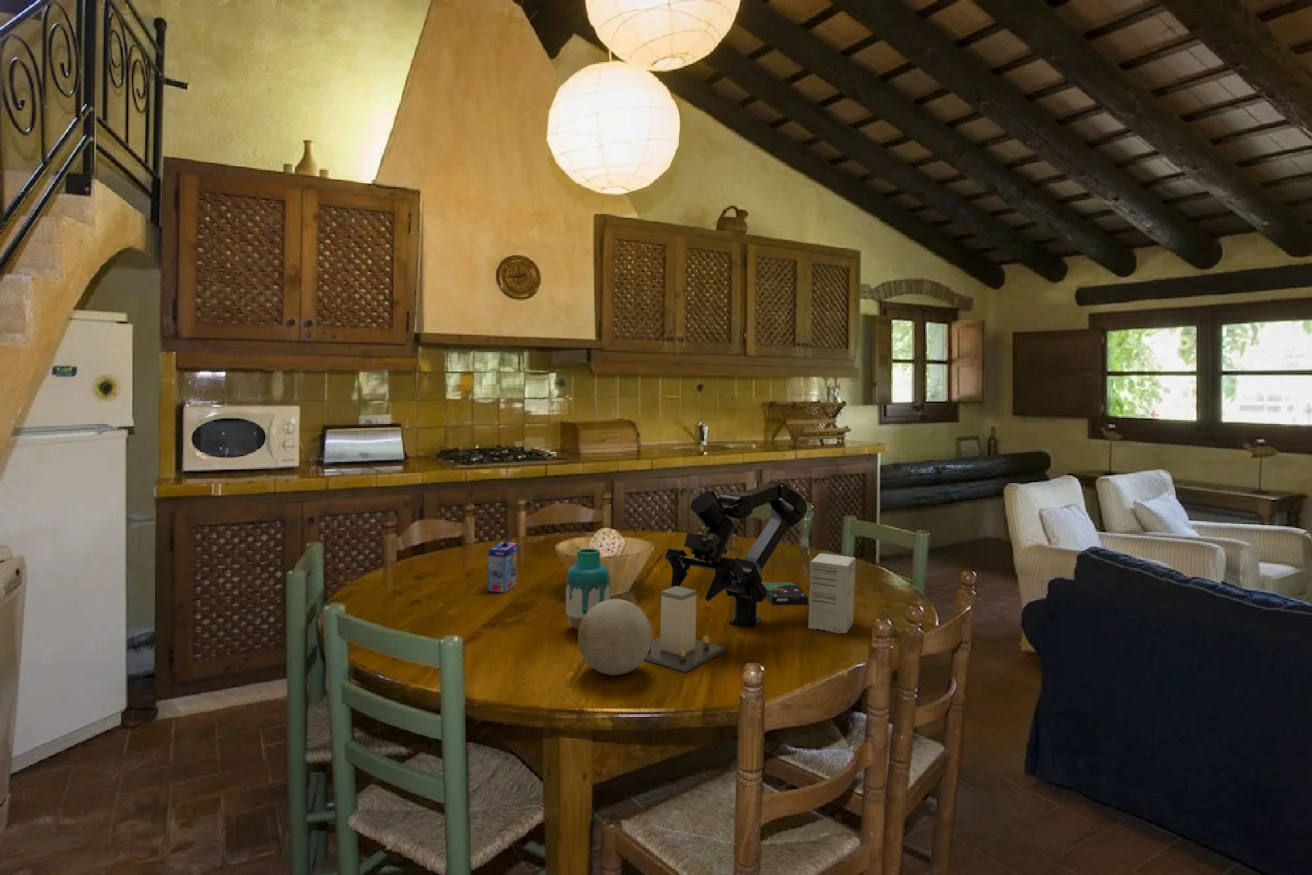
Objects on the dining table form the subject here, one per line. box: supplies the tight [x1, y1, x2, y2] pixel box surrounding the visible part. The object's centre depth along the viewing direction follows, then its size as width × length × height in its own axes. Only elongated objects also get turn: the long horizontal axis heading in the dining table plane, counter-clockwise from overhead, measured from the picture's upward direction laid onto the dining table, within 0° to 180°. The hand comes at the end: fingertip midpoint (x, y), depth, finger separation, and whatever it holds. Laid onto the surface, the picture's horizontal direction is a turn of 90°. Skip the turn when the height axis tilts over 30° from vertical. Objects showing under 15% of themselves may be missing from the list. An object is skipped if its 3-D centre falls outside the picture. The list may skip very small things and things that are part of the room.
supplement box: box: [807, 553, 856, 634], centre depth 185 cm, size 10×9×17 cm
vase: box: [565, 547, 611, 631], centre depth 180 cm, size 11×11×19 cm
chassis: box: [644, 635, 725, 673], centre depth 166 cm, size 15×15×4 cm
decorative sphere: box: [577, 598, 652, 676], centre depth 154 cm, size 15×15×15 cm
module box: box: [660, 586, 697, 655], centre depth 165 cm, size 6×6×13 cm
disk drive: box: [761, 581, 809, 606], centre depth 210 cm, size 10×3×15 cm
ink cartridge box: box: [487, 536, 518, 594], centre depth 214 cm, size 10×6×14 cm, turn 170°
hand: (689, 596), depth 168 cm, fingers open, 9 cm apart
